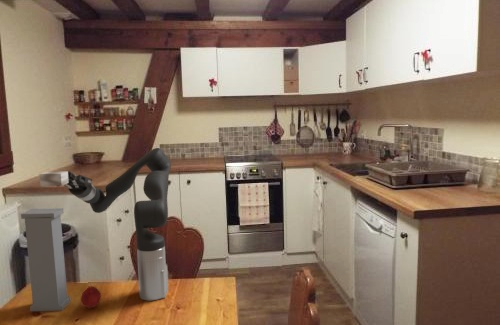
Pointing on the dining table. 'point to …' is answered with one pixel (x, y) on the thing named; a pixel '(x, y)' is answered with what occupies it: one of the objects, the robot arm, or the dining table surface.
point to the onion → (91, 297)
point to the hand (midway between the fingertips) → (63, 174)
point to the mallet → (54, 178)
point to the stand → (46, 259)
